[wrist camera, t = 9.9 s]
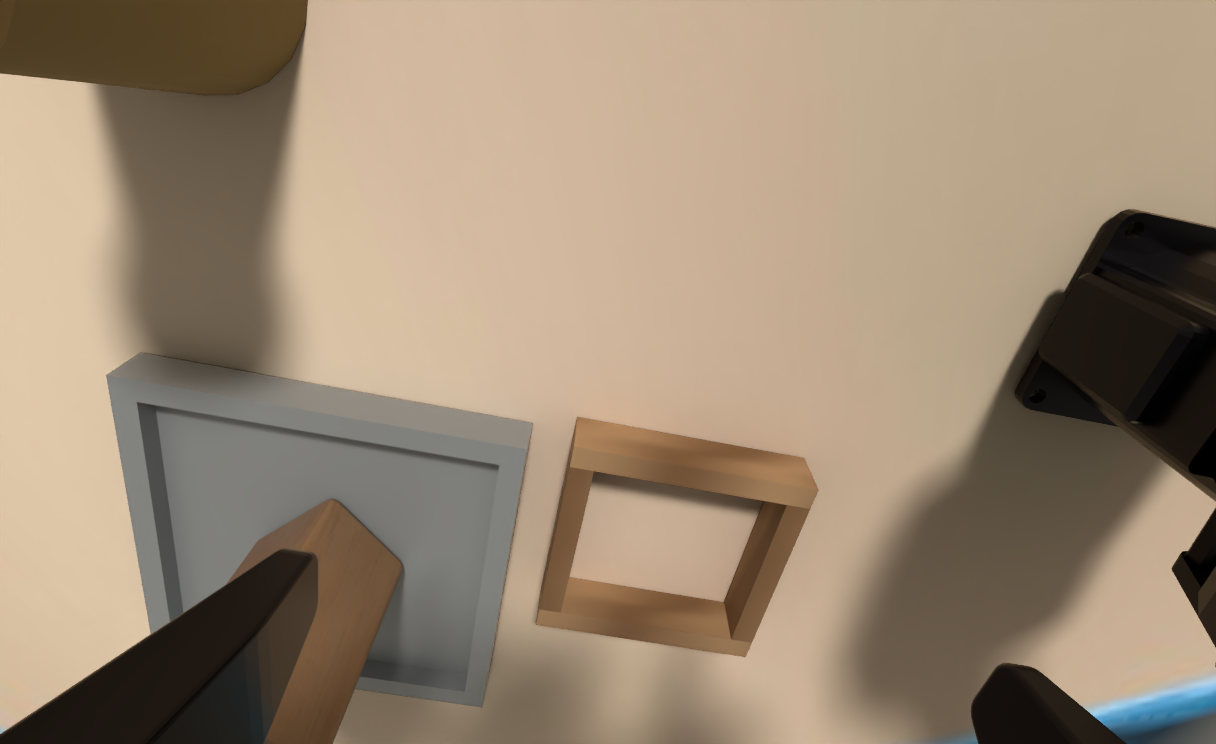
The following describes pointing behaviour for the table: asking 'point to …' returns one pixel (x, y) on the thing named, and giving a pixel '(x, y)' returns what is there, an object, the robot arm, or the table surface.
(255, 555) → the wooden block
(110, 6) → the olive pawn piece
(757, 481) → the walnut collar
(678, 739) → the table surface
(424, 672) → the slate tray
